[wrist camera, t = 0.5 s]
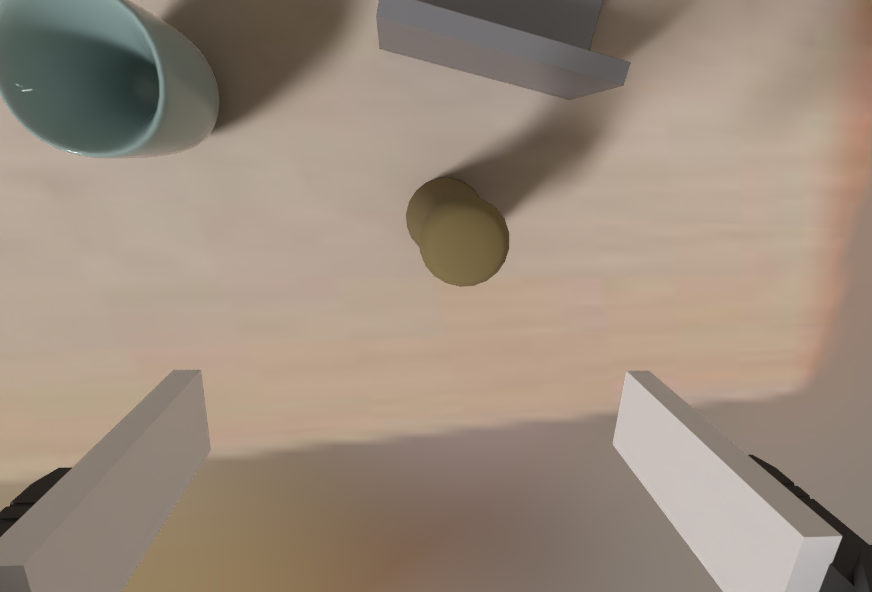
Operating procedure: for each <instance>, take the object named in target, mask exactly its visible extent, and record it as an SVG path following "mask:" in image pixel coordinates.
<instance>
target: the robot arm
mask: <svg viewBox="0 0 872 592" xmlns="http://www.w3.org/2000/svg"><path fill="white" fill-rule="evenodd" d="M613 445H614V447H615V448H616V449H617V450H618V452H619V453H620V454H621V456H622V457H623V459H624V460H625V461H626V462H627V464H628V465H629V466H630V468H631V469H632V471H633V472H634V473H635V475H636V476H637V477H638V479H639V480H640V481H641V483H642V484H643V485H644V487H645V488H646V489H647V491H648V492H649V493H650V494H651V496H652V497H653V499H654V500H655V501H656V503H657V504H658V505H659V507H660V508H661V509H662V511H663V512H664V513H665V514H666V516H667V517H668V519H669V520H670V521H671V522H672V524H673V525H674V527H675V528H676V529H677V531H678V532H679V533H680V535H681V536H682V537H683V539H684V540H685V541H686V543H687V544H688V545H689V547H690V548H691V549H692V551H693V552H694V553H695V555H696V556H697V557H698V559H699V560H700V561H701V563H702V564H703V565H704V567H705V568H706V569H707V571H708V572H709V573H710V574H711V576H712V577H713V579H714V580H715V581H716V583H717V584H718V585H719V587H720V588H721V589H722V591H723V592H872V545H869V544H867V543H866V542H865V541H864V540H863V539H861V538H860V537H859V536H858V535H856V534H855V533H854V532H853V531H851V530H850V529H849V528H848V527H847V526H846V525H844V524H843V523H842V522H841V521H840V520H838V519H837V518H836V517H835V516H834V515H832V514H831V513H830V512H829V511H827V510H826V509H825V508H824V507H823V506H821V505H820V504H819V503H818V502H817V501H815V500H814V499H810V497H809V495H808V494H807V493H805V492H804V491H803V490H802V489H801V488H800V487H798V486H795V485H794V483H793V482H792V481H791V480H790V479H789V478H787V477H786V476H785V475H784V474H782V473H781V472H780V471H779V470H778V469H776V468H775V467H773V466H772V465H770V464H768V463H766V462H764V461H763V460H761V459H759V458H757V457H755V456H754V455H747V454H746V453H745V452H744V451H742V450H741V449H740V448H739V447H738V446H737V445H735V444H734V443H733V442H732V441H730V440H729V439H728V438H727V437H726V436H725V435H723V434H722V433H721V432H720V431H719V430H718V429H717V428H715V427H714V426H713V425H712V424H711V423H709V422H708V421H707V420H706V419H705V418H704V417H703V416H701V415H700V414H699V413H698V412H697V411H696V410H694V409H693V408H692V407H691V406H690V405H688V404H687V403H686V402H685V401H684V400H683V399H681V398H680V397H679V396H678V395H677V394H676V393H674V392H673V391H672V390H671V389H670V388H669V387H667V386H666V385H665V384H664V383H663V382H662V381H660V380H659V379H658V378H657V377H656V376H654V375H653V374H652V373H651V372H650V371H626V376H625V381H624V386H623V392H622V397H621V402H620V408H619V413H618V419H617V424H616V429H615V435H614V440H613ZM210 450H211V448H210V440H209V431H208V423H207V415H206V407H205V398H204V390H203V382H202V374H201V370H173V371H172V372H171V373H170V374H169V375H168V376H167V377H166V378H165V379H164V380H163V381H162V382H161V383H160V384H159V385H158V386H157V387H156V388H155V389H154V390H152V391H151V392H150V393H149V394H148V395H147V396H146V397H145V398H144V399H143V400H142V401H141V402H140V403H139V404H138V405H137V406H136V407H135V408H134V409H133V410H132V411H131V412H130V413H129V414H128V415H127V416H126V417H124V418H123V419H122V420H121V421H120V422H119V423H118V424H117V425H116V426H115V427H114V428H113V429H112V430H111V431H110V432H109V433H108V434H107V435H106V436H105V437H104V438H103V439H102V440H101V441H100V442H99V443H98V444H96V445H95V446H94V447H93V448H92V449H91V450H90V451H89V452H88V453H87V454H86V455H85V456H84V457H83V458H82V459H81V460H80V461H79V462H78V463H77V464H76V465H75V466H74V467H73V468H58V469H56V470H54V471H53V472H51V473H49V474H48V475H46V476H44V477H42V478H41V479H39V480H37V481H36V482H34V483H32V484H31V485H30V486H29V487H28V488H26V489H25V490H24V491H23V492H22V493H21V494H20V495H19V496H17V498H15V499H14V500H13V501H12V502H11V503H10V506H9V507H5V508H4V509H3V510H2V511H1V512H0V592H121V591H122V590H123V588H124V587H125V585H126V583H127V582H128V580H129V578H130V577H131V576H132V574H133V572H134V571H135V569H136V568H137V566H138V564H139V563H140V561H141V559H142V558H143V556H144V555H145V553H146V551H147V550H148V548H149V547H150V545H151V544H152V542H153V541H154V539H155V537H156V536H157V534H158V533H159V531H160V529H161V528H162V526H163V525H164V523H165V522H166V520H167V518H168V517H169V515H170V514H171V512H172V510H173V509H174V507H175V505H176V504H177V502H178V501H179V499H180V498H181V496H182V495H183V493H184V491H185V490H186V488H187V487H188V485H189V483H190V482H191V480H192V479H193V477H194V476H195V474H196V472H197V471H198V469H199V468H200V466H201V464H202V463H203V461H204V460H205V458H206V456H207V455H208V453H209V452H210Z"/></svg>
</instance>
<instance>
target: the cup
mask: <svg viewBox="0 0 872 592" xmlns="http://www.w3.org/2000/svg"><path fill="white" fill-rule="evenodd" d="M0 94H1V96H2V99H3V100H4V102H5V103H6V105H7V106H8V108H9V109H10V111H11V112H12V114H13V115H14V117H15V118H16V119H17V120H18V121H19V122H20V123H21V124H22V125H23V126H24V127H25V128H26V129H27V130H28V131H29V132H31V133H32V134H33V135H35V136H36V137H37V138H39V139H40V140H41V141H43V142H45V143H47V144H49V145H51V146H53V147H55V148H57V149H60V150H63V151H66V152H69V153H73V154H76V155H80V156H86V157H93V158H105V159H115V158H147V157H158V156H164V155H170V154H175V153H179V152H183V151H185V150H188V149H190V148H193V147H195V146H197V145H198V144H200V143H201V142H202V141H204V140H205V139H206V138H207V137H208V136H209V134H210V133H211V132H212V131H213V129H214V126H215V124H216V122H217V118H218V113H219V101H220V98H219V91H218V85H217V81H216V78H215V75H214V72H213V70H212V68H211V66H210V64H209V62H208V61H207V59H206V58H205V57H204V55H203V54H202V53H201V51H200V50H199V49H198V47H197V46H196V45H195V44H194V43H192V42H191V41H190V40H189V39H188V38H187V37H186V36H184V35H183V34H182V33H181V32H180V31H178V30H177V29H176V28H174V27H173V26H171V25H170V24H168V23H167V22H165V21H163V20H162V19H160V18H158V17H157V16H155V15H153V14H152V13H150V12H148V11H147V10H145V9H143V8H142V7H140V6H138V5H136V4H135V3H133V2H131V1H129V0H0Z"/></svg>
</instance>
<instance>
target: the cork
mask: <svg viewBox="0 0 872 592" xmlns="http://www.w3.org/2000/svg"><path fill="white" fill-rule="evenodd" d="M406 219H407V228H408V230H409V233H410V235H411V238H412V239H413V240H414V241H415V242H416V244H417V245H418V246H419V247H420V253H421V255H422V258H423V260H424V263H425V265H426V267H427V268H428V269H429V270H430V271H431V272H432V274H433V275H434V276H435V277H437V278H439V279H440V280H442V281H444V282H445V283H448V284H452V285H456V286H461V287H462V286H474V285H477V284H479V283H482V282H484V281H487V280H488V279H489V278H491V277H492V276H493V275H494V274H496V273H497V272H498V270H499V269H500V268H501V266H502V265H503V263H504V262H505V259H506V256H507V253H508V250H509V231H508V228H507V225H506V222H505V219H504V218H503V216H502V215H501V214H500V212H499V211H498V210H497V208H495V207H494V206H492V205H491V204H490V203H488V202H487V201H485V200H483V199H480V198H479V197H478V195H477V194H476V193H475V191H474V190H473V189H472V188H471V187H470V186H468V185H467V184H466V183H464V182H463V181H460V180H457V179H453V178H437V179H434V180H432V181H429V182H427V183H425V184H424V185H423V186H421V187H420V188H419V189H418V190H417V191H416V192H415V193H414V195H413V197H412V198H411V200H410V201H409V205H408V209H407V213H406Z"/></svg>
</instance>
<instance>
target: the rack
mask: <svg viewBox="0 0 872 592" xmlns="http://www.w3.org/2000/svg"><path fill="white" fill-rule="evenodd" d="M602 3H603V0H379V3H378V9H377V16H376V18H377V28H378V38H379V47H380V49H383V50H386V51H390V52H394V53H397V54H401V55H405V56H409V57H412V58H416V59H420V60H424V61H427V62H431V63H435V64H438V65H442V66H446V67H450V68H453V69H457V70H461V71H464V72H468V73H472V74H476V75H479V76H483V77H487V78H491V79H494V80H498V81H502V82H505V83H509V84H513V85H517V86H520V87H524V88H528V89H531V90H535V91H539V92H543V93H546V94H550V95H554V96H558V97H561V98H565V99H569V100H570V99H574V98H578V97H582V96H585V95H589V94H593V93H597V92H601V91H604V90H608V89H612V88H616V87H620V86H623V85H624V82H625V79H626V75H627V72H628V69H629V66H630V63H631V62H627V61H624V60H620V59H617V58H613V57H610V56H607V55H603V54H600V53H596V52H593V51H589V48H590V44H591V41H592V37H593V34H594V30H595V27H596V24H597V20H598V17H599V13H600V10H601V6H602Z"/></svg>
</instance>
